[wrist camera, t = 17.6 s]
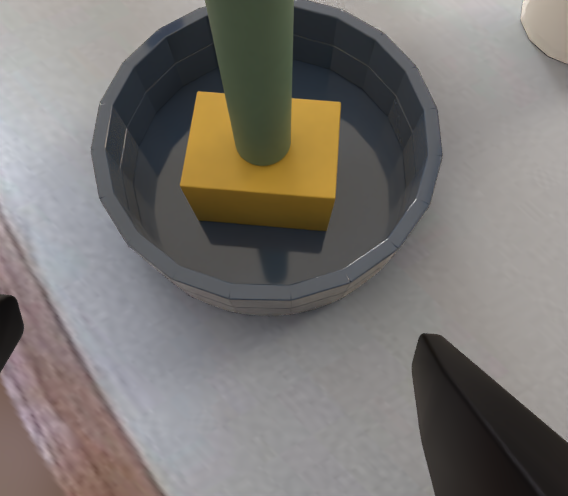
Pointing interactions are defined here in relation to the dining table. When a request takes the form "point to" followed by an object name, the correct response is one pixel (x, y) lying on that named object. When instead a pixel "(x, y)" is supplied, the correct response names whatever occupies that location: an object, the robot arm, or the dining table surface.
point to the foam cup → (547, 26)
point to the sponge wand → (260, 128)
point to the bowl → (265, 239)
